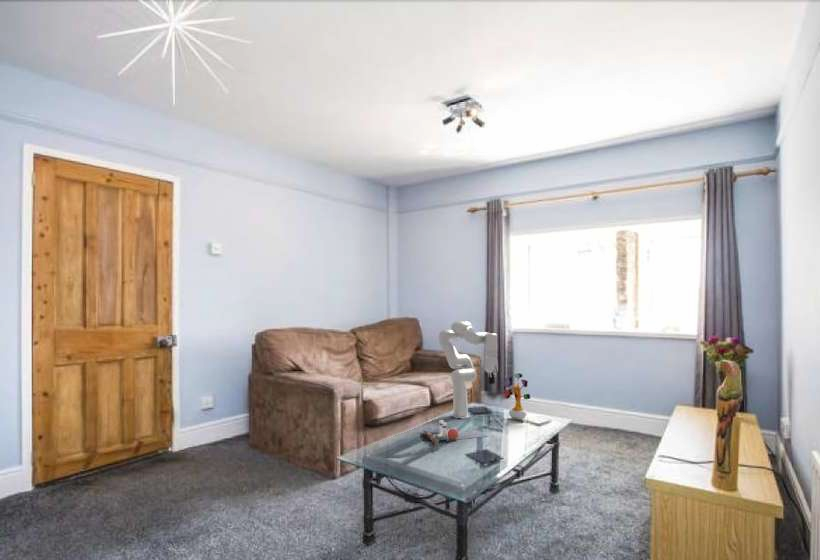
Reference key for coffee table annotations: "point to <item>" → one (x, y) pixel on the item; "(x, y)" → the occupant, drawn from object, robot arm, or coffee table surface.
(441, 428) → the pin
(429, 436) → the back wall
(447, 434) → the pin front
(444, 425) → the pin
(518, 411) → the decorative sculpture
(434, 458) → the coffee table surface
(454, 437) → the ball
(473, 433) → the lane
